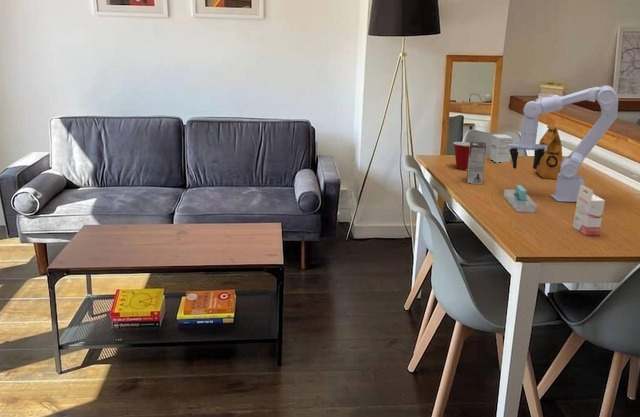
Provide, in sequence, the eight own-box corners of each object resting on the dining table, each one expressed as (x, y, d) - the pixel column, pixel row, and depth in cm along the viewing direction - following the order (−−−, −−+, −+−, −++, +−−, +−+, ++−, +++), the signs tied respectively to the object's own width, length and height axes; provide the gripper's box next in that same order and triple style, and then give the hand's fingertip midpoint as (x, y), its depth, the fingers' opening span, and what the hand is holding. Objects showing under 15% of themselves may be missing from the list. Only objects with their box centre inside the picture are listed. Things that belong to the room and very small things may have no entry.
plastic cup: (478, 168, 269) (481, 142, 266) (470, 172, 261) (473, 146, 257) (455, 164, 275) (458, 139, 271) (447, 169, 266) (449, 143, 262)
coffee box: (466, 178, 252) (469, 141, 247) (481, 179, 250) (485, 142, 245) (466, 183, 243) (470, 145, 238) (482, 184, 242) (486, 146, 237)
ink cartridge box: (600, 235, 186) (607, 191, 182) (585, 235, 186) (592, 191, 181) (586, 226, 195) (593, 183, 190) (571, 226, 194) (578, 183, 190)
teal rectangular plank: (519, 200, 222) (521, 185, 220) (525, 206, 214) (527, 191, 212) (513, 200, 222) (515, 185, 220) (519, 206, 214) (521, 191, 212)
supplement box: (489, 160, 285) (491, 134, 281) (503, 159, 286) (506, 134, 282) (495, 163, 278) (498, 137, 274) (510, 163, 279) (513, 137, 275)
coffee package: (537, 178, 252) (544, 128, 245) (533, 171, 264) (539, 123, 257) (562, 180, 251) (569, 129, 244) (556, 173, 262) (563, 124, 255)
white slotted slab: (521, 196, 227) (522, 190, 226) (536, 212, 208) (537, 205, 207) (503, 195, 227) (504, 189, 227) (516, 211, 208) (517, 205, 208)
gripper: (512, 134, 219) (507, 170, 223) (551, 135, 218) (546, 171, 222) (507, 131, 226) (503, 165, 230) (545, 132, 225) (541, 166, 229)
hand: (524, 168), depth 227 cm, fingers open, 7 cm apart
